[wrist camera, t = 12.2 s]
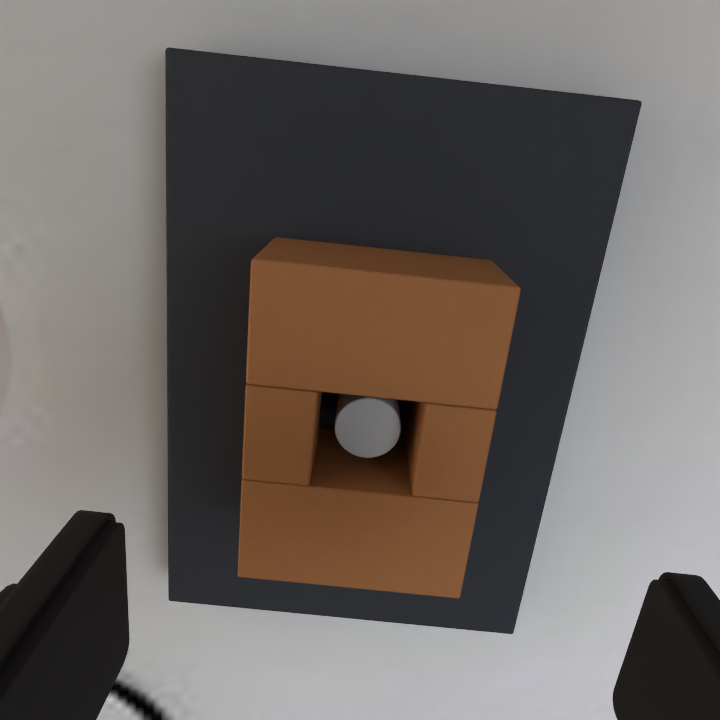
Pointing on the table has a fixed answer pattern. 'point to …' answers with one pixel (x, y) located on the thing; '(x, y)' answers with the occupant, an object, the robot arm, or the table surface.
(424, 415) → the brown block with hole
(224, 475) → the charcoal back pad
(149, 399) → the table surface
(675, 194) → the table surface
